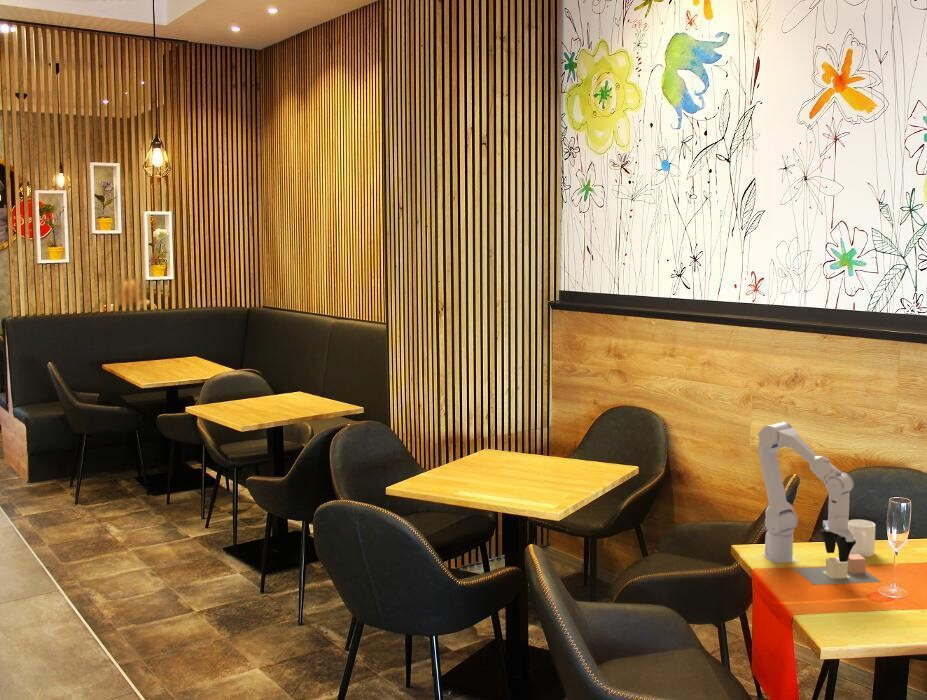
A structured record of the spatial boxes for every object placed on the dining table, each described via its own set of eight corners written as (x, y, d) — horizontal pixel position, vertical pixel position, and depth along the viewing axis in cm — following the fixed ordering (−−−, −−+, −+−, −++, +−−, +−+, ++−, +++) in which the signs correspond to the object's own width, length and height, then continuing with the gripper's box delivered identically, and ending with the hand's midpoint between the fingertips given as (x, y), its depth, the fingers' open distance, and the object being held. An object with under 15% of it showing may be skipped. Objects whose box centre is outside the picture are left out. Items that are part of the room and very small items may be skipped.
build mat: (793, 569, 289) (793, 567, 289) (858, 566, 291) (858, 564, 291) (813, 586, 275) (813, 584, 275) (881, 583, 277) (881, 581, 277)
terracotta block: (843, 568, 288) (844, 554, 287) (857, 567, 288) (858, 553, 288) (851, 573, 284) (851, 559, 283) (865, 573, 284) (865, 558, 283)
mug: (878, 563, 294) (879, 531, 293) (850, 561, 296) (851, 529, 295) (872, 550, 305) (873, 520, 304) (845, 548, 307) (846, 518, 306)
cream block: (825, 572, 285) (826, 558, 284) (839, 571, 285) (839, 557, 285) (833, 577, 280) (833, 563, 280) (847, 576, 281) (847, 562, 280)
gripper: (814, 507, 287) (812, 549, 289) (838, 521, 273) (836, 566, 275) (835, 506, 288) (833, 548, 290) (861, 520, 274) (859, 564, 276)
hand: (836, 557), depth 282 cm, fingers open, 7 cm apart
